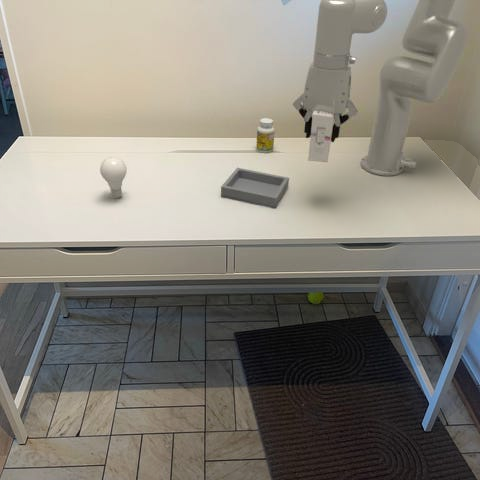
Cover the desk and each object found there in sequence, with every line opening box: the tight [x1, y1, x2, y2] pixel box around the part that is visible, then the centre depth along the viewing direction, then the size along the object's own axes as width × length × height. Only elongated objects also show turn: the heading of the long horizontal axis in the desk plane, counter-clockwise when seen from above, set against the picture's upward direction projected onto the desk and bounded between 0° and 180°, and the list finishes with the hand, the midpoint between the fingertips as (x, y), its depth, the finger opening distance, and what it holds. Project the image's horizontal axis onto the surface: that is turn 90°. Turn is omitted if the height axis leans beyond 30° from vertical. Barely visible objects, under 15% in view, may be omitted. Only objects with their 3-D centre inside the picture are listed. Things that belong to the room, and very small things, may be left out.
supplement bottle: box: [256, 117, 276, 154], centre depth 147 cm, size 5×5×10 cm
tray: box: [220, 167, 290, 209], centre depth 126 cm, size 15×12×3 cm
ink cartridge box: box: [307, 101, 335, 163], centre depth 112 cm, size 9×5×15 cm, turn 168°
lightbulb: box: [99, 156, 128, 199], centre depth 119 cm, size 6×6×11 cm
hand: (320, 137), depth 114 cm, fingers closed on ink cartridge box, 5 cm apart
